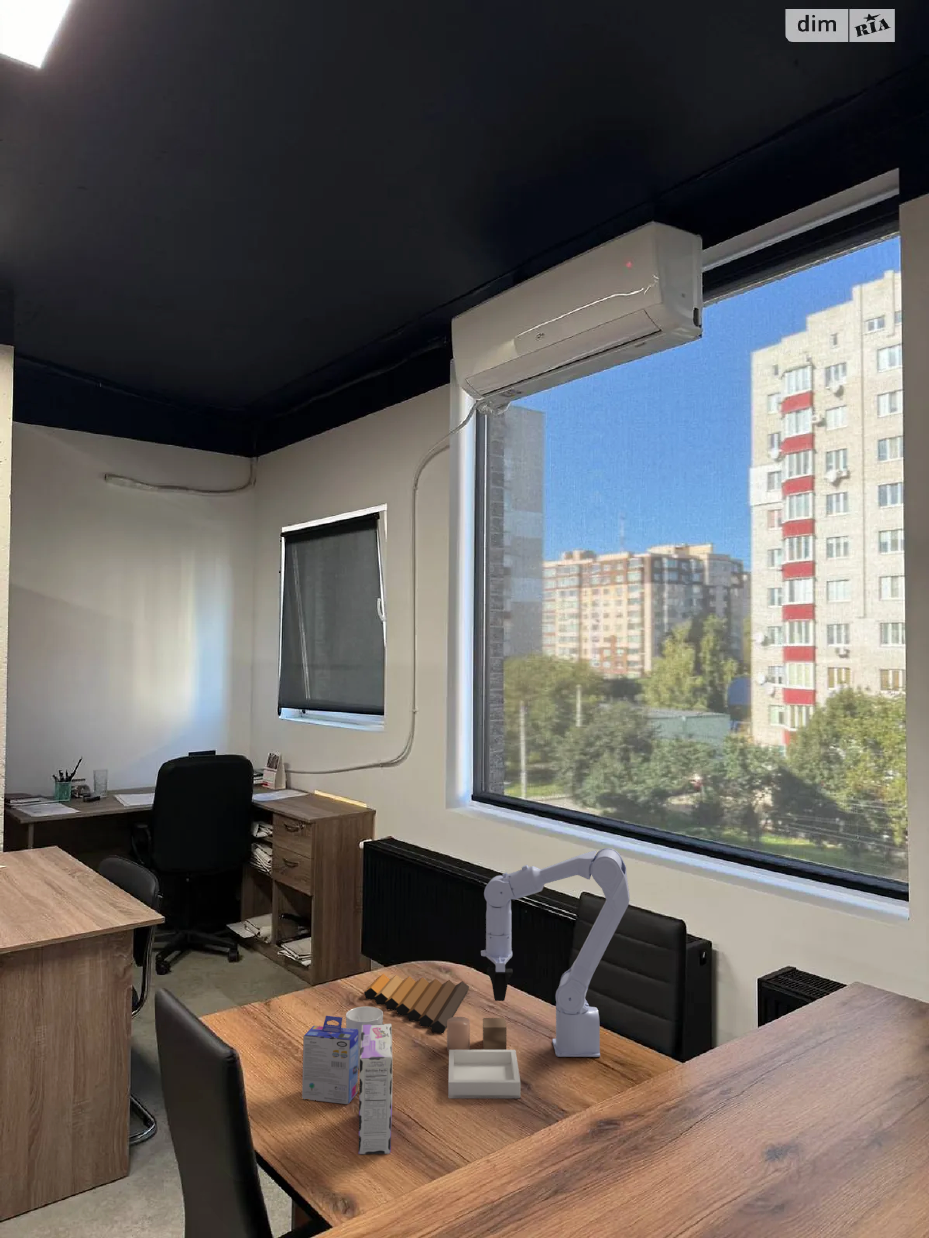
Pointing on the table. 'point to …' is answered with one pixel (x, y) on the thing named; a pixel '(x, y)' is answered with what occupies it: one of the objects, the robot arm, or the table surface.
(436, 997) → the pan flute
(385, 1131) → the candy box
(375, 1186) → the table surface
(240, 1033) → the table surface
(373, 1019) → the white cup
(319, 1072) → the ink cartridge box
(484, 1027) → the walnut cube
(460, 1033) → the beige rounded cylinder
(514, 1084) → the off-white tray
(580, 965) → the robot arm
